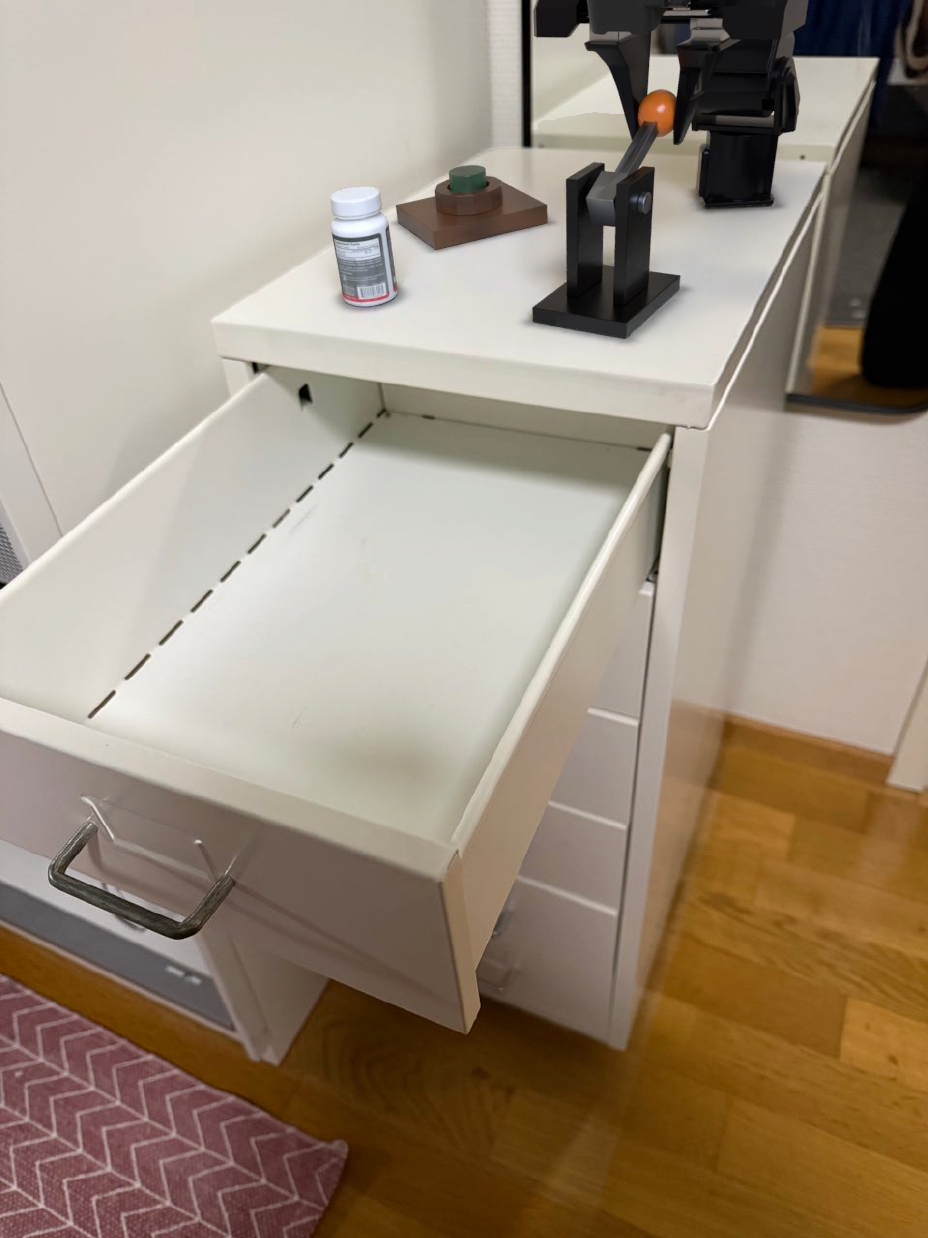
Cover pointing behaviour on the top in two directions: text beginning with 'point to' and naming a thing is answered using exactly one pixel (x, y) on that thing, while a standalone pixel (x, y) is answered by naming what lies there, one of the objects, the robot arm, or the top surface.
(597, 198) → the switch lever
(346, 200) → the pill bottle
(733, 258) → the top surface
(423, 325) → the top surface
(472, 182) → the button
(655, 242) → the top surface
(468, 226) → the button block
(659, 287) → the switch bracket
